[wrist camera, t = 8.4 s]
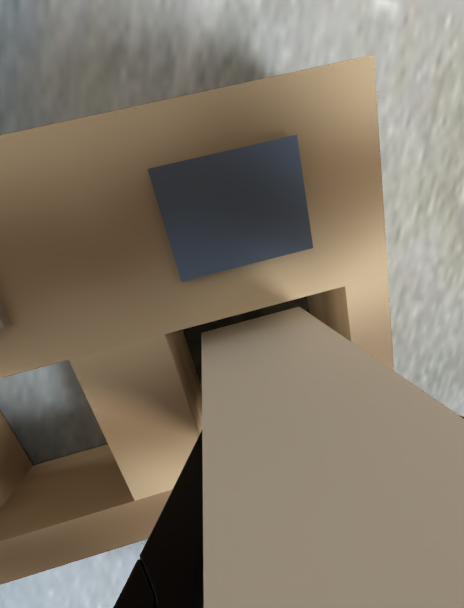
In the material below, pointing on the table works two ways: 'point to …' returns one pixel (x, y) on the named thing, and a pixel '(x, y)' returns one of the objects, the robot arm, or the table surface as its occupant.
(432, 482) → the plug
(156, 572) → the robot arm
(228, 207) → the socket board
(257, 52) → the table surface
